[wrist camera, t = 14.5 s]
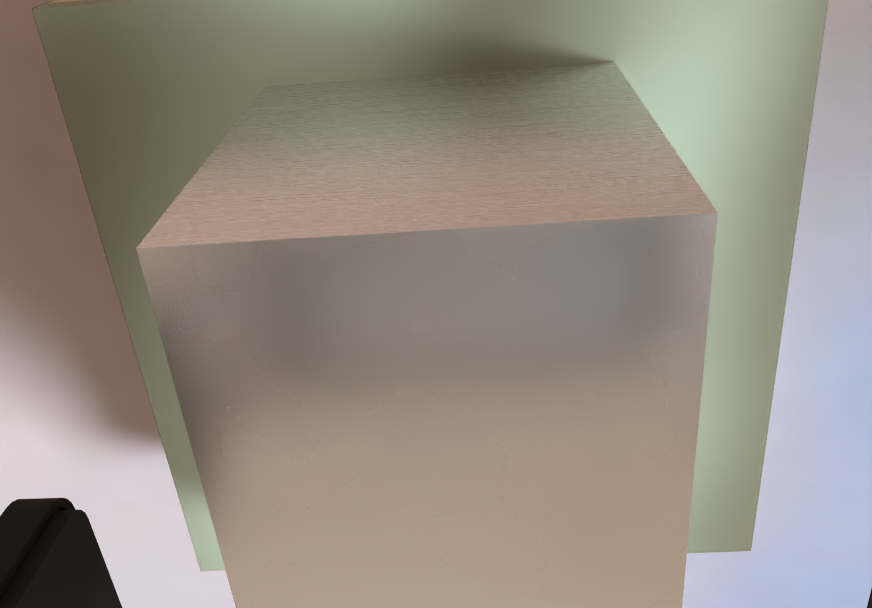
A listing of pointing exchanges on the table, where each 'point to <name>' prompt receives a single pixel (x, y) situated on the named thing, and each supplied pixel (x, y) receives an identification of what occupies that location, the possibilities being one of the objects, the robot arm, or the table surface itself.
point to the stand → (453, 53)
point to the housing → (442, 342)
